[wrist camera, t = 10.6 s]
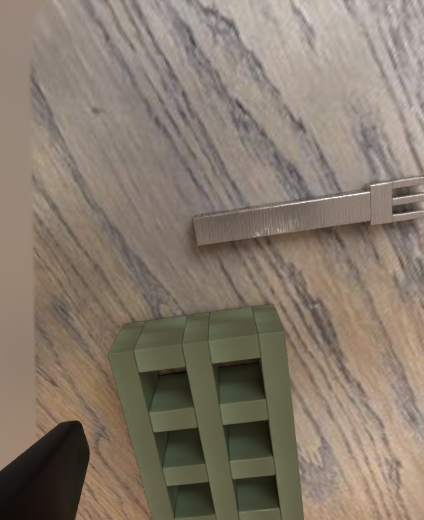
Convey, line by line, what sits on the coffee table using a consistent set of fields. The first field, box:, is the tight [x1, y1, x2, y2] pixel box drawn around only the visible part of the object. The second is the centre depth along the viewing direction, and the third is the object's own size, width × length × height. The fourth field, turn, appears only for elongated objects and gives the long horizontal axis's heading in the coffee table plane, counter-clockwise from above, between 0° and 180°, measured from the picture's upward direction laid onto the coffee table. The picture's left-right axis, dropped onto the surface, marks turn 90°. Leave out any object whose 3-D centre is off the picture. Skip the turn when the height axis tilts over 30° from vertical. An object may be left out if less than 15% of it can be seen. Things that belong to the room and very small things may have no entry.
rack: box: [108, 304, 304, 520], centre depth 22 cm, size 9×13×4 cm
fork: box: [192, 176, 424, 246], centre depth 19 cm, size 1×2×13 cm
